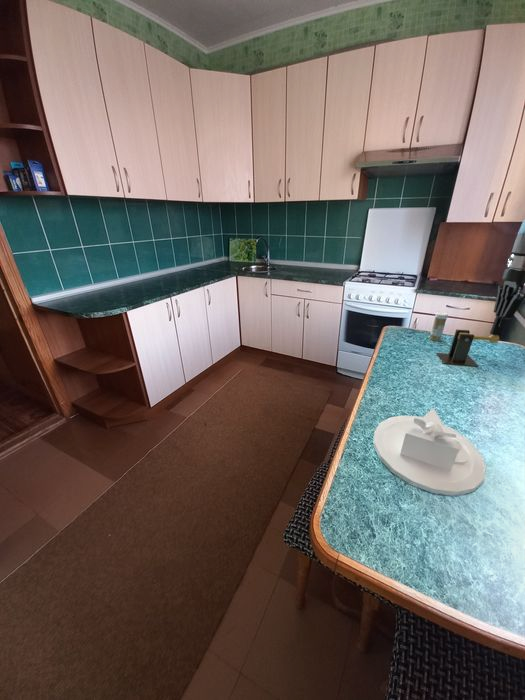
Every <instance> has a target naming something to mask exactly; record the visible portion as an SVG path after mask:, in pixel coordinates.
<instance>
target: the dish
mask: <svg viewBox="0 0 525 700" xmlns="http://www.w3.org/2000/svg"><path fill="white" fill-rule="evenodd" d="M372 446H373V448H374V450H375V453H376V455H377V457H378V459H379V460H380V462H382V464H384V466H385V467H386V468H387V469H388V470H389V471H390V472H391V473H392V474H393V475H395V476H397V477H398V478H399V479H401V480H403V481H404V482H406V483H407V484H409V485H410V486H412V487H415V488H418V489H420V490H423V491H426V492H428V493H431V494H436V495H445V496H452V497H453V496H454V497H456V496H461V495H466V494H471V493H473V492H474V491H475V490H476V489H477V488H479V487H480V486H481V485H482V484H483V483H484V481H485V477H486V476H485V475H486V470H487V465H486V462H485V460H484V457H483V455H482V453H481V452H480V451H479V449H477V447H476V446H475V445H474V444H473V443H472V441H470V439H468V438H467V437H466V436H464V435H463V434H461V433H460V432H458V431H457V430H455V428H452V427H450V426H448V425H445V424H444V423H443V421H442V419H441V418H440V416H439V415H438V413H437V411H436V410H435V408H434V407H433V408H431V409H430V410H429V411H428V412H426V413H425V415H423V416H418V415H403V414H402V415H397V416H391V417H388V418H386V419H384V420H383V421H380V422H379V423H378V425H377V426H376V428H375V429H374V431H373V445H372Z"/></svg>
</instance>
